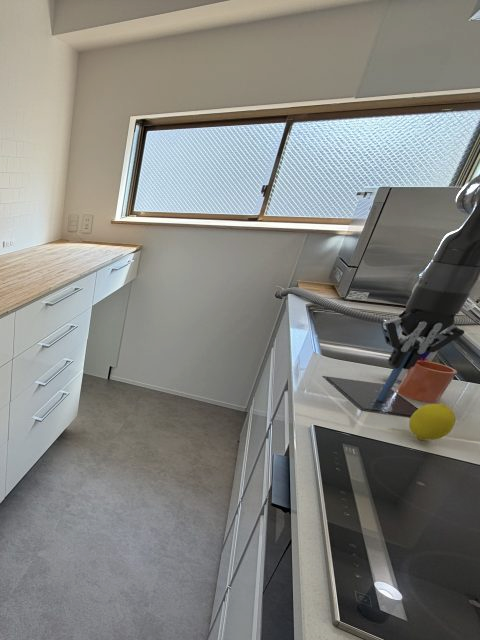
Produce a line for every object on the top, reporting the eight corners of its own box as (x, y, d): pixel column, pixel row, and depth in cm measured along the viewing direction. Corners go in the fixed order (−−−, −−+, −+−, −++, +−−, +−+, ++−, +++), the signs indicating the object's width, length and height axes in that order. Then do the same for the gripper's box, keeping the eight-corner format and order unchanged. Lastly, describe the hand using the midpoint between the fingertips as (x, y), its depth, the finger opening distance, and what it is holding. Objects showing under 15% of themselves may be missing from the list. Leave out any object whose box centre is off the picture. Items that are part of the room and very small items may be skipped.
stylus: (382, 399, 93) (412, 344, 87) (385, 402, 91) (417, 347, 85) (374, 398, 93) (404, 343, 87) (378, 401, 92) (409, 346, 86)
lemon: (400, 439, 80) (422, 403, 76) (401, 428, 83) (422, 393, 80) (440, 451, 76) (465, 414, 73) (440, 440, 80) (464, 404, 76)
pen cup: (423, 393, 98) (442, 362, 95) (445, 407, 92) (465, 375, 89) (388, 388, 100) (405, 358, 96) (407, 402, 94) (426, 370, 90)
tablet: (382, 386, 101) (384, 383, 101) (433, 423, 86) (435, 420, 85) (321, 378, 104) (322, 375, 104) (359, 412, 89) (361, 409, 88)
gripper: (414, 287, 79) (370, 369, 87) (503, 295, 76) (450, 379, 84) (390, 279, 86) (352, 356, 93) (472, 286, 82) (425, 365, 90)
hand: (399, 366), depth 88 cm, fingers closed on stylus, 1 cm apart
